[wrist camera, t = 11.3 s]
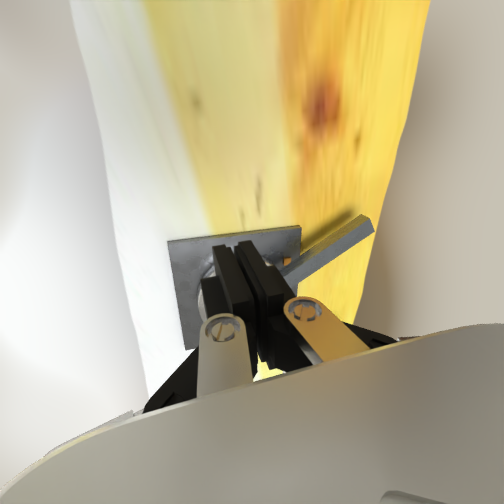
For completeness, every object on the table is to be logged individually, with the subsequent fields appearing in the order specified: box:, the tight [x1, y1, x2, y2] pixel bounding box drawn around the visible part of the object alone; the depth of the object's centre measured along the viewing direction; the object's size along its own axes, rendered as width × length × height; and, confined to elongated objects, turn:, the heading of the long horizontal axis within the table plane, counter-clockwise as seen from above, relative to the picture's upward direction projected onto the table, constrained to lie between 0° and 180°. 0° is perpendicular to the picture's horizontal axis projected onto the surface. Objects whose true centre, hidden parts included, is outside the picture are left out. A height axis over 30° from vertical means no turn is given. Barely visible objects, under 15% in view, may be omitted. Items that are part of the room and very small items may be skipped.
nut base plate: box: [168, 226, 302, 350], centre depth 46 cm, size 20×20×1 cm
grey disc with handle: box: [197, 214, 375, 322], centre depth 44 cm, size 29×14×4 cm, turn 122°
